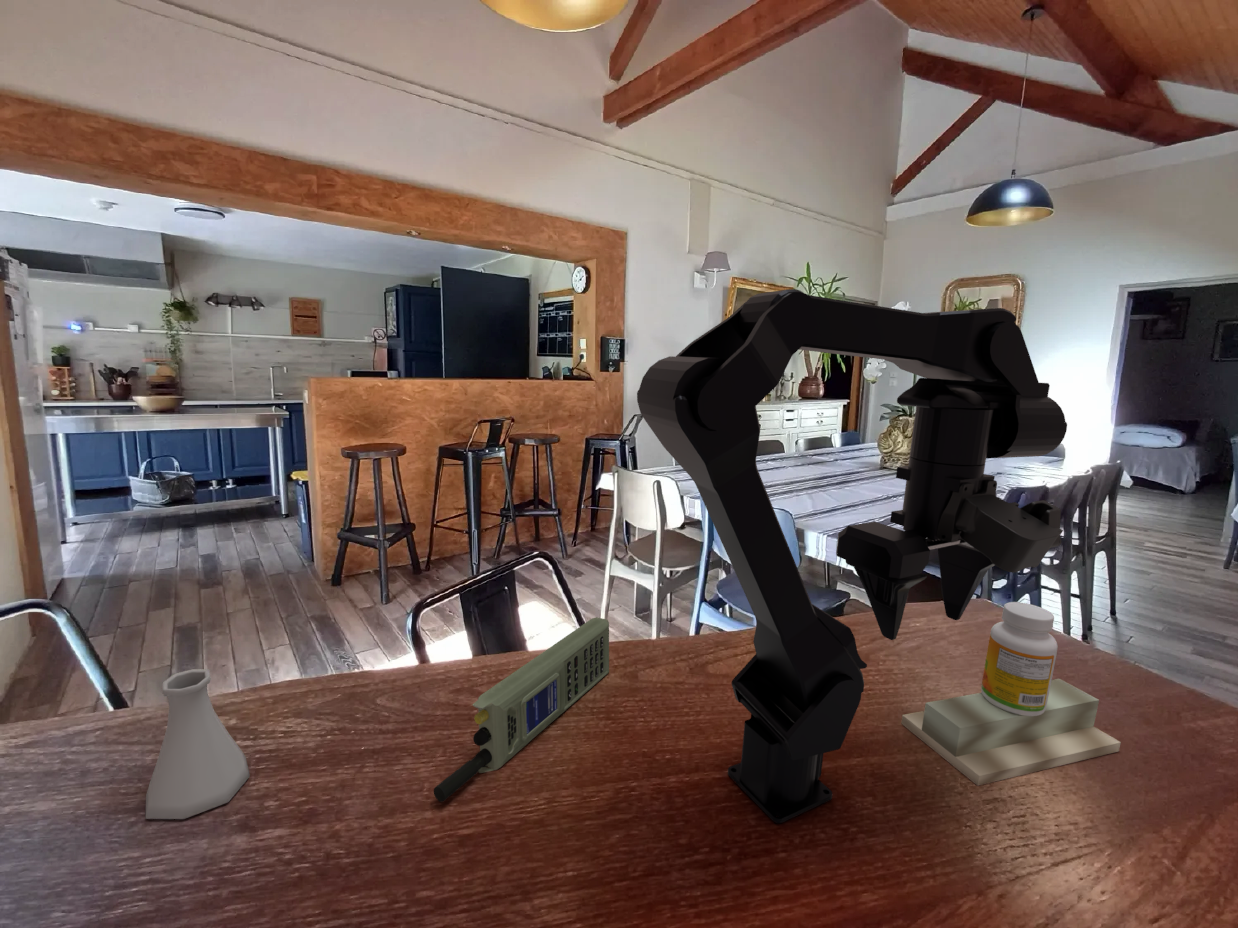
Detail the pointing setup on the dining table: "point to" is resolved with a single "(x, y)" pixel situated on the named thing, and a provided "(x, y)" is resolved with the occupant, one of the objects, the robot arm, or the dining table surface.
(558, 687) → the handheld radio
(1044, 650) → the supplement bottle
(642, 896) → the dining table surface
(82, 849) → the dining table surface
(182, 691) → the flask
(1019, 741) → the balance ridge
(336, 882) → the dining table surface
